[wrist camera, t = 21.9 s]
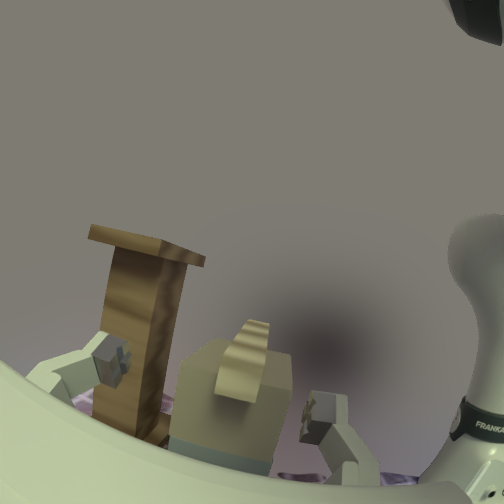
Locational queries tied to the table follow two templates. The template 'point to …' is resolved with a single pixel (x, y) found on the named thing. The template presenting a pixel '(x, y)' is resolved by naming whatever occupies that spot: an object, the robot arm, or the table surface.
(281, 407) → the tower top block
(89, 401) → the table surface
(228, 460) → the tower base block
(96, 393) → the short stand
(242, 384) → the batten
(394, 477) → the table surface
